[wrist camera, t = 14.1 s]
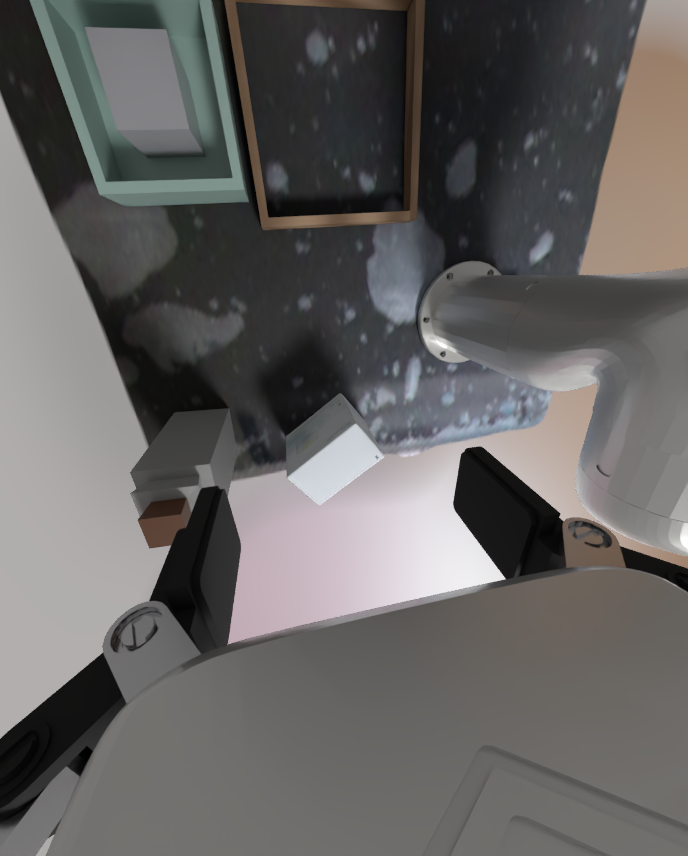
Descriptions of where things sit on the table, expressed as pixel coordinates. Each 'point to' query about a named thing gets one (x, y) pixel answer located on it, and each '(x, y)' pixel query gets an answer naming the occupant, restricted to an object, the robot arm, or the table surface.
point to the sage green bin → (85, 96)
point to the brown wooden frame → (415, 8)
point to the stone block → (147, 91)
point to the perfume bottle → (182, 470)
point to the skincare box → (330, 450)
